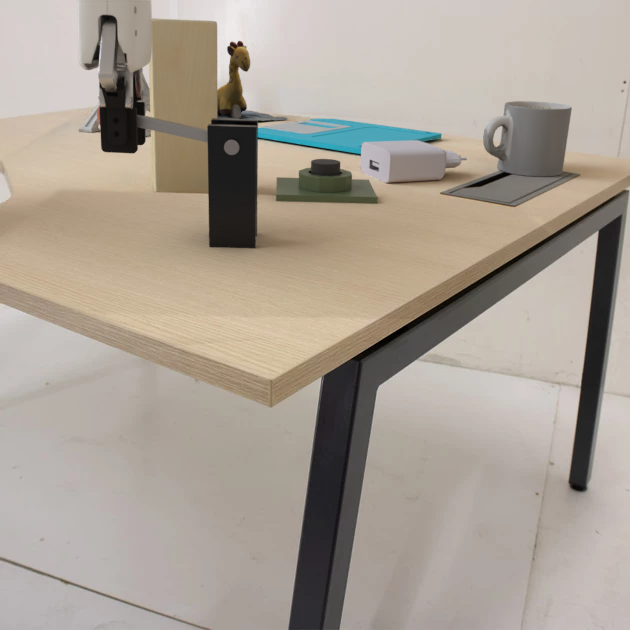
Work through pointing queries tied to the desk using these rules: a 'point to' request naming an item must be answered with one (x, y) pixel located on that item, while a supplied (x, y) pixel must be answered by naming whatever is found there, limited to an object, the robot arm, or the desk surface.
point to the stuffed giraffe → (237, 89)
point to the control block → (325, 188)
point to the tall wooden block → (182, 101)
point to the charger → (406, 161)
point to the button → (325, 167)
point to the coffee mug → (530, 138)
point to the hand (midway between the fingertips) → (124, 146)
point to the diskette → (340, 134)
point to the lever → (169, 127)
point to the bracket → (232, 182)
